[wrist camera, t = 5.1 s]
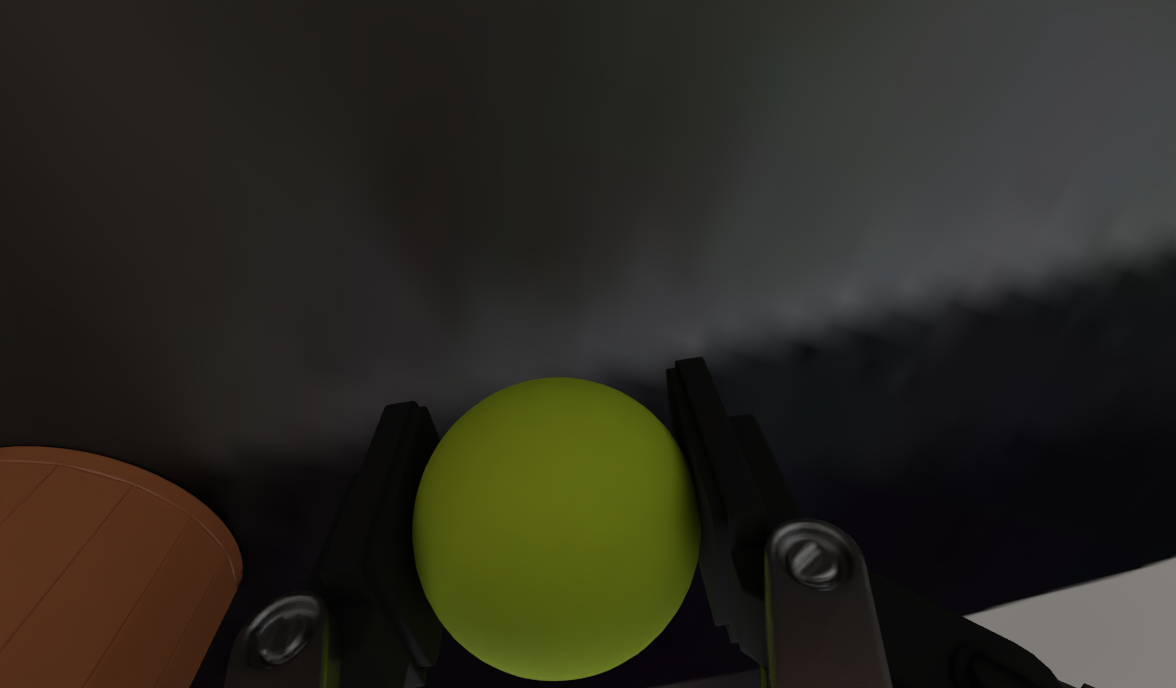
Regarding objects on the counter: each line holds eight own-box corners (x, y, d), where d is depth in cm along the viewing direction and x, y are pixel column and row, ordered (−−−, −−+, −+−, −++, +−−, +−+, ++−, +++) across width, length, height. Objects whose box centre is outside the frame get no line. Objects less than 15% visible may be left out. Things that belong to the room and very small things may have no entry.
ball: (717, 389, 12) (813, 611, 7) (593, 528, 14) (612, 761, 10) (506, 282, 10) (477, 490, 6) (402, 459, 12) (325, 704, 8)
